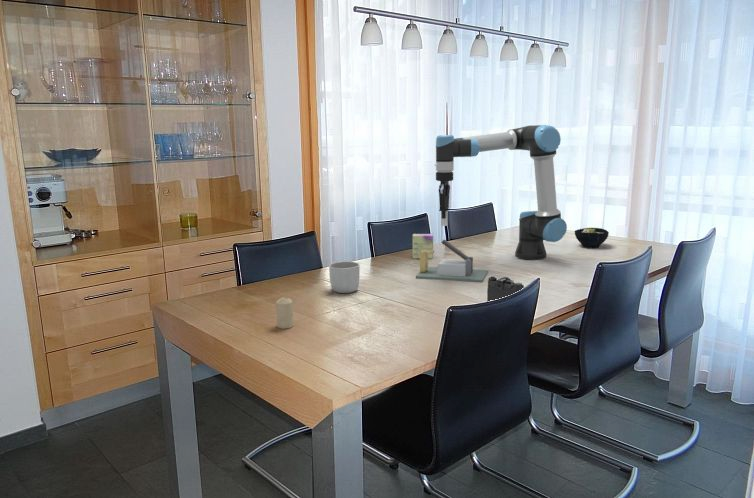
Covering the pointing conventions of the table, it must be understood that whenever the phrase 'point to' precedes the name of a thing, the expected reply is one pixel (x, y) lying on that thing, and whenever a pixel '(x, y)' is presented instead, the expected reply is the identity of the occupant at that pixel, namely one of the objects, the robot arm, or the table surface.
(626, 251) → the table surface
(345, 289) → the planter
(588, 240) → the bowl
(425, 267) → the notched wooden block
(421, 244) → the box
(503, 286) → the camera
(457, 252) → the strap
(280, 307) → the candle
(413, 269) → the table surface
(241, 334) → the table surface
